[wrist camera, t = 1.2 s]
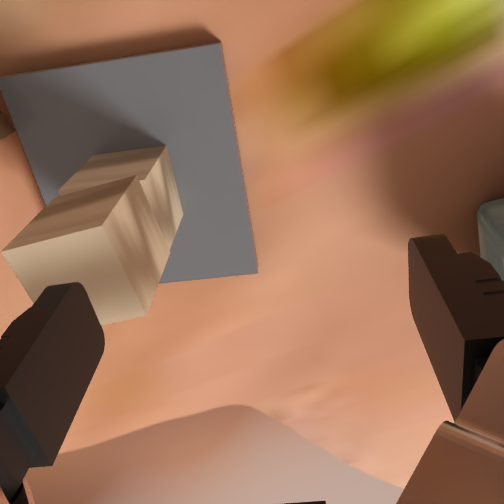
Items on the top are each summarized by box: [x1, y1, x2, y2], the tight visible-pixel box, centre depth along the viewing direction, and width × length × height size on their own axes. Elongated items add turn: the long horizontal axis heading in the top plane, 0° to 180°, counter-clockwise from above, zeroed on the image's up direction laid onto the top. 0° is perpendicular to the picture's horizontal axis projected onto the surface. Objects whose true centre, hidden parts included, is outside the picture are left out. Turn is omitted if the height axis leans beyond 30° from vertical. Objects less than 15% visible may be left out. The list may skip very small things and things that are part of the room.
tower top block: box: [1, 175, 170, 325], centre depth 25 cm, size 5×5×6 cm
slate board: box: [0, 41, 258, 283], centre depth 33 cm, size 16×14×1 cm
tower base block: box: [58, 145, 183, 250], centre depth 30 cm, size 5×5×6 cm
